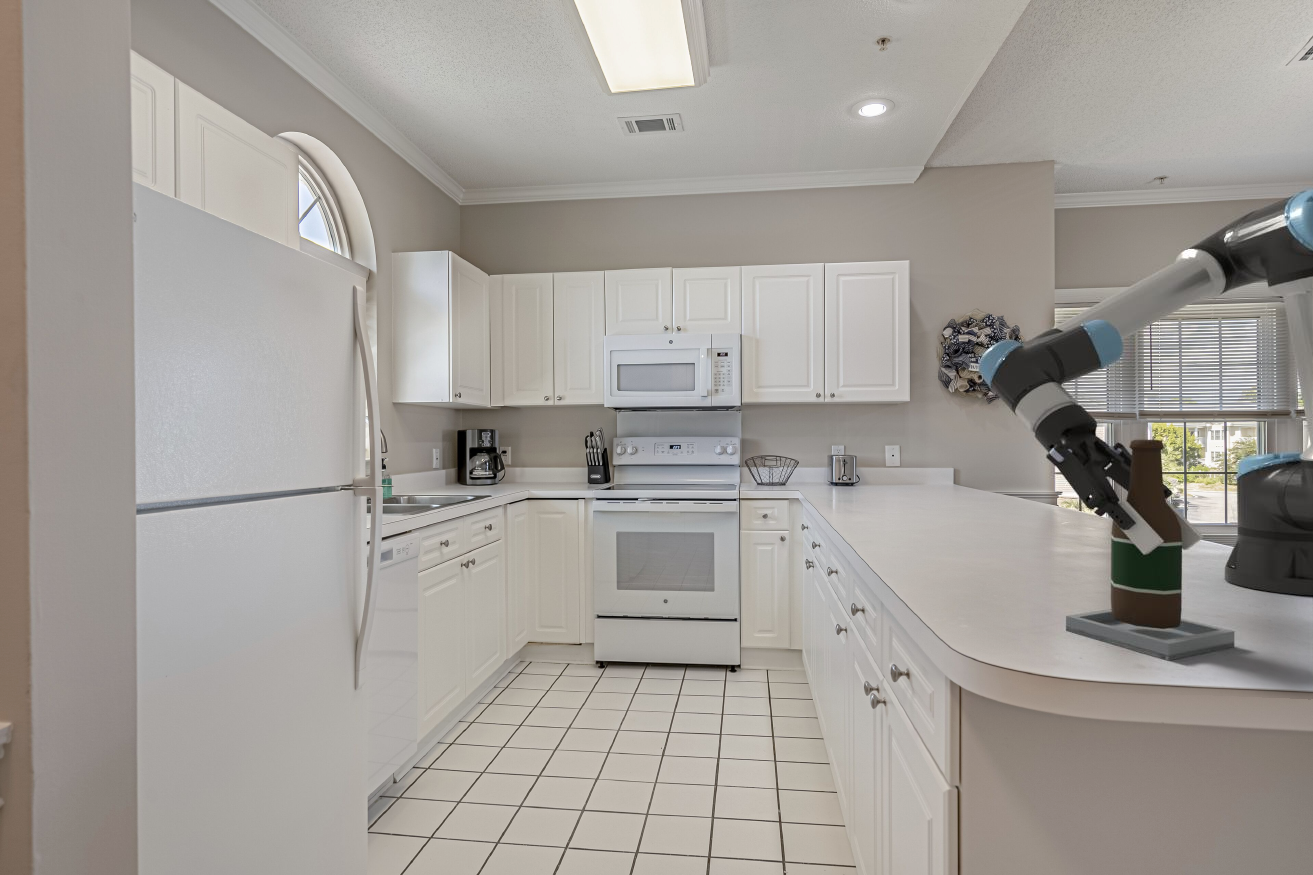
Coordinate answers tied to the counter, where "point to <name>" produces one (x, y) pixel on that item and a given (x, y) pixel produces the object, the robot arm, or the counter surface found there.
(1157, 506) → the beer bottle
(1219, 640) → the keeper tray
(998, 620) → the counter surface
